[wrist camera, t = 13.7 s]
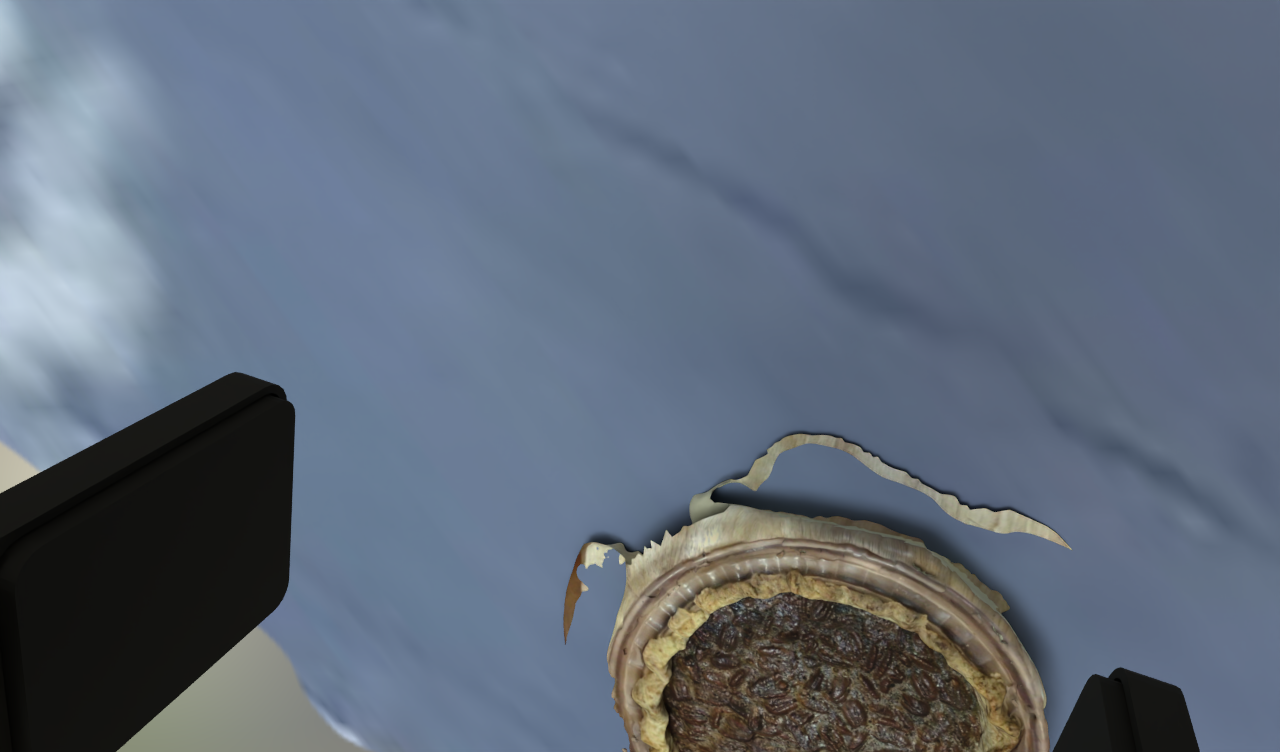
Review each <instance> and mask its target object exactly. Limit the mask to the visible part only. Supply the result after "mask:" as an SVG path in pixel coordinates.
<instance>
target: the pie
mask: <svg viewBox="0 0 1280 752" xmlns="http://www.w3.org/2000/svg"><path fill="white" fill-rule="evenodd" d="M806 443H814V444H820V445H825V446H829V447H833V448H838V449H840V450H843V451H845V452H847V453H849V454H851V455H853V456H854V457H856V458H857V459H858V460H859V461H861V462H862V463H863V464H864V465H866V466H867V467H868V468H870V469H871V470H872V471H874V472H875V473H877V474H878V475H880V476H882V477H884V478H886V479H889V480H892V481H895V482H898V483H901V484H904V485H906V486H909V487H911V488H914V489H916V490H919V491H921V492H923V493H925V494H926V495H928V496H930V497H931V498H932V499H934V501H935V502H936V503H938V505H939V506H940V507H941V508H942V509H943V510H944V511H945V512H946V513H948V514H949V515H950V516H952V517H953V518H955V519H957V520H959V521H961V522H963V523H965V524H969V525H973V526H977V527H981V528H984V529H987V530H991V531H994V532H997V533H1005V534H1006V533H1011V532H1026V533H1030V534H1034V535H1037V536H1040V537H1043V538H1045V539H1048V540H1050V541H1053V542H1055V543H1057V544H1060V545H1063V546H1065V547H1067V548H1069V549H1071V548H1070V547H1069V546H1068V545H1067V544H1066V543H1065V541H1064V540H1063V539H1062V538H1061V537H1060V536H1059V535H1058V534H1057V533H1056V532H1054V531H1053V530H1051V529H1050V528H1048V527H1047V526H1045V525H1043V524H1041V523H1038V522H1036V521H1034V520H1032V519H1030V518H1027V517H1025V516H1023V515H1021V514H1018V513H1016V512H1014V511H1011V510H1005V511H999V512H992V511H990V510H988V509H986V508H982V509H972V510H970V509H969V508H968V506H967V505H960V504H959V501H958V499H957V498H956V497H955V496H952V495H946V494H940V493H938V492H936V491H935V490H933V489H931V488H930V487H927V486H925V485H923V484H921V482H920V481H919V479H913V478H911V477H910V476H909V475H908V474H907V473H906V472H904V471H900V470H897V469H894V468H891V467H889V466H888V465H886V464H884V463H882V462H881V461H880V459H879V458H878V457H872V455H871V454H870V453H866V452H863V451H862V449H861V448H860V447H859V446H856V445H854V444H850V443H845V442H844V441H843V439H842V438H834V437H832V436H828V435H814V436H811V435H806V434H796V435H791V436H788V437H785V438H783V439H782V440H781V441H779V442H777V443H774V445H773V446H772V447H771V448H769V449H767V452H768V454H767V455H765V456H763V457H761V458H759V459H757V460H755V462H754V464H753V466H752V468H751V470H750V472H749V474H748V476H745V477H743V478H741V479H738V480H734V479H729V480H726V481H724V482H722V483H720V484H718V485H716V486H715V487H713V488H712V489H711V490H709V491H708V492H705V493H701V494H696V495H694V496H693V498H692V500H691V502H690V509H689V510H690V517H691V520H692V525H690V526H683V527H682V529H681V531H680V532H679V533H677V534H676V535H674V536H673V537H672V536H671V535H670V534H669V533H668V532H667V530H666V532H665V535H664V538H663V541H662V544H661V546H660V545H658V544H656V543H655V542H653V541H651V546H652V548H648V549H647V548H646V547H644V554H641V553H640V552H639V551H636V552H627V551H626V550H625V547H624V545H623V544H622V543H616V544H611V545H603V544H600V543H596V542H591V543H586V544H584V545H583V547H582V548H581V550H580V552H579V555H578V557H577V559H576V562H575V566H574V569H573V572H572V574H571V577H570V580H569V584H568V587H567V592H566V598H565V608H564V636H565V645H566V637H567V634H568V631H569V628H570V625H571V622H572V618H573V614H574V609H575V603H576V601H577V600H578V598H579V597H580V595H581V593H582V591H587V590H588V587H587V586H585V585H584V584H583V583H582V581H580V580H579V579H578V577H577V573H576V571H577V567H578V566H579V565H580V564H584V565H585V566H586V569H587V568H588V566H589V565H590V564H595V563H596V564H597V565H598V566H600V567H601V568H602V567H603V566H602V565H601V564H602V563H603V559H605V556H604V552H606V553H607V551H608V550H609V549H612V548H613V549H615V550H616V551H618V552H619V553H620V557H619V564H623V563H624V562H625V563H626V576H627V580H626V588H625V593H624V597H623V600H622V603H621V606H620V609H619V612H618V614H617V618H616V623H615V627H614V631H613V635H612V638H611V641H610V644H609V647H608V652H607V661H608V666H609V673H610V674H611V677H613V678H615V685H614V688H613V691H612V698H614V700H615V702H616V703H615V705H614V709H615V710H616V712H617V713H619V716H620V717H622V718H623V720H624V727H625V730H626V731H627V733H628V736H629V741H630V746H629V748H630V752H1049V749H1050V740H1049V735H1048V724H1047V721H1046V719H1045V716H1044V711H1043V709H1044V708H1045V706H1046V694H1045V690H1044V687H1043V684H1042V681H1041V678H1040V676H1039V673H1038V671H1037V669H1036V667H1035V665H1034V663H1033V661H1032V660H1031V658H1030V656H1029V655H1028V653H1027V651H1026V650H1025V648H1024V647H1023V645H1022V643H1021V642H1020V640H1019V638H1018V637H1017V635H1016V633H1015V632H1014V630H1013V629H1012V627H1011V626H1010V624H1009V623H1008V621H1007V620H1006V619H1005V618H1004V617H1003V616H1002V615H1001V614H1002V612H1006V611H1007V610H1009V609H1010V607H1009V606H1008V605H1007V602H1006V601H1005V600H1004V599H1003V597H1002V595H1001V594H1000V593H999V592H997V591H995V590H994V591H993V590H990V589H989V588H988V587H987V586H986V585H985V584H983V583H982V582H980V581H979V580H978V579H977V577H976V576H975V574H971V573H970V572H969V571H968V570H967V569H965V568H964V566H963V565H962V564H960V563H952V562H950V560H949V559H947V558H945V557H944V556H940V555H939V554H937V553H935V552H933V551H930V550H928V549H927V548H926V547H925V545H924V542H923V541H922V540H921V539H919V538H916V537H910V536H907V535H904V534H900V533H897V532H895V531H893V530H890V529H888V528H886V527H884V526H883V525H880V524H877V523H874V522H871V521H866V520H859V521H853V520H850V519H848V518H844V517H840V516H833V517H829V518H824V517H822V516H817V517H815V518H813V519H811V518H809V517H807V516H803V515H796V514H792V513H785V512H773V511H771V510H759V509H756V508H752V507H748V506H743V505H735V504H727V503H718V502H717V503H714V502H713V501H712V500H711V499H710V497H711V494H712V492H713V491H714V490H715V489H716V488H717V487H719V488H720V487H722V486H723V485H725V484H728V483H735V482H737V483H741V484H743V485H745V486H747V487H748V488H750V489H751V490H754V491H756V490H757V489H758V488H759V486H760V485H761V484H762V483H763V482H764V481H765V480H766V479H767V478H768V477H769V475H770V473H771V471H772V468H773V465H774V463H775V461H776V458H777V457H778V455H779V454H780V453H782V452H783V451H786V450H789V449H792V448H795V447H797V446H800V445H802V444H806ZM596 547H599V550H597V549H596ZM1071 550H1072V549H1071ZM1072 551H1073V550H1072ZM622 751H623V752H627V749H625V748H624V749H622Z"/></svg>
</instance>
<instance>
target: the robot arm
mask: <svg viewBox="0 0 1280 752" xmlns="http://www.w3.org/2000/svg"><path fill="white" fill-rule="evenodd" d="M294 435H295V409H294V406H293V404H292V403H290V402H289V401H287V398H286V394H285V392H284V389H282V388H281V387H280V386H279V385H276V384H273V383H270V382H267V381H264V380H261V379H258V378H255V377H252V376H249V375H246V374H243V373H238V372H234V373H231V374H228V375H226V376H224V377H222V378H220V379H218V380H216V381H214V382H212V383H211V384H209V385H207V386H205V387H203V388H201V389H199V390H197V391H195V392H193V393H191V394H190V395H188V396H186V397H184V398H182V399H180V400H178V401H176V402H174V403H172V404H170V405H169V406H167V407H165V408H163V409H161V410H159V411H157V412H155V413H153V414H151V415H149V416H147V417H146V418H144V419H142V420H140V421H138V422H136V423H134V424H132V425H130V426H128V427H126V428H125V429H123V430H121V431H119V432H117V433H115V434H113V435H111V436H109V437H107V438H105V439H103V440H102V441H100V442H98V443H96V444H94V445H92V446H90V447H88V448H86V449H84V450H82V451H81V452H79V453H77V454H75V455H73V456H71V457H69V458H67V459H65V460H63V461H61V462H59V463H58V464H56V465H54V466H52V467H50V468H48V469H46V470H44V471H42V472H40V473H38V474H37V475H35V476H33V477H31V478H29V479H27V480H25V481H23V482H21V483H19V484H17V485H15V486H14V487H12V488H10V489H8V490H6V491H4V492H2V493H0V752H116V751H117V750H119V749H120V748H121V747H122V746H123V745H124V744H125V743H126V742H127V741H129V739H131V738H132V737H133V736H134V735H135V734H136V733H137V732H139V731H140V730H141V729H142V728H143V727H144V726H145V725H146V724H147V723H149V722H150V721H151V720H152V719H153V718H154V717H155V716H156V715H158V714H159V713H160V712H161V711H162V710H163V709H164V708H166V707H167V706H168V705H169V704H170V703H171V702H172V701H173V700H175V699H176V698H177V697H178V696H179V695H180V694H181V693H182V692H184V691H185V690H186V689H187V688H188V687H189V686H190V685H191V684H192V683H194V681H196V680H197V679H198V678H199V677H200V676H201V675H202V674H204V673H205V672H206V671H207V670H208V669H209V668H210V667H212V666H213V664H215V663H216V662H217V661H218V660H219V659H220V658H221V657H223V656H224V655H225V654H226V653H227V652H228V651H229V650H230V649H232V648H233V647H234V646H235V645H236V644H237V643H238V642H240V640H242V639H243V638H244V637H245V636H246V635H247V634H248V633H250V632H251V631H252V630H253V629H254V628H255V627H256V626H257V625H259V624H260V623H261V622H262V621H263V620H264V619H265V618H266V617H268V616H269V615H270V614H271V613H272V612H273V611H274V610H275V609H276V608H277V607H278V606H279V604H280V603H281V601H282V600H283V597H284V595H285V593H286V591H287V587H288V583H289V568H290V541H291V514H292V488H293V461H294ZM1053 752H1200V750H1199V747H1198V743H1197V740H1196V737H1195V733H1194V730H1193V726H1192V723H1191V719H1190V716H1189V712H1188V709H1187V705H1186V702H1185V698H1184V695H1183V693H1182V691H1181V689H1180V688H1178V687H1177V686H1175V685H1172V684H1169V683H1166V682H1163V681H1160V680H1157V679H1154V678H1151V677H1148V676H1145V675H1142V674H1139V673H1136V672H1133V671H1130V670H1127V669H1124V668H1121V667H1120V668H1117V669H1115V670H1114V671H1113V672H1112V673H1111V674H1110V676H1109V678H1106V677H1103V676H1100V675H1097V674H1094V675H1092V676H1091V677H1090V678H1089V679H1088V681H1087V682H1086V684H1085V686H1084V688H1083V690H1082V692H1081V694H1080V696H1079V698H1078V700H1077V703H1076V705H1075V707H1074V709H1073V711H1072V713H1071V715H1070V717H1069V719H1068V721H1067V723H1066V725H1065V727H1064V729H1063V731H1062V733H1061V735H1060V737H1059V740H1058V742H1057V744H1056V746H1055V748H1054V750H1053Z"/></svg>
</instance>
